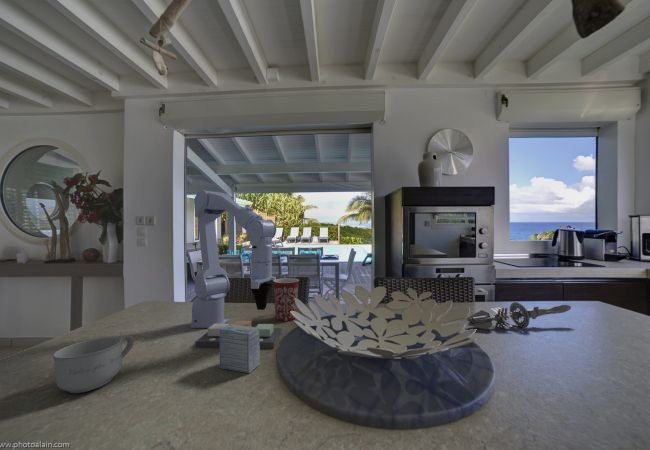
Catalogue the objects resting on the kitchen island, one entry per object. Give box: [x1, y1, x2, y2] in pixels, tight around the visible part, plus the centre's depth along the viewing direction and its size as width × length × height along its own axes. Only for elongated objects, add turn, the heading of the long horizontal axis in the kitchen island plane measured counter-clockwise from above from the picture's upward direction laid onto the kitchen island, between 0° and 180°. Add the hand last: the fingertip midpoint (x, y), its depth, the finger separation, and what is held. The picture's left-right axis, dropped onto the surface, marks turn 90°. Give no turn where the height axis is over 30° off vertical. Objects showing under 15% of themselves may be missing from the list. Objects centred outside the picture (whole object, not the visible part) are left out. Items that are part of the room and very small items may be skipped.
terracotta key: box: [231, 320, 252, 327], centre depth 81 cm, size 4×4×2 cm
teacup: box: [52, 334, 135, 394], centre depth 59 cm, size 14×11×8 cm
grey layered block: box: [219, 324, 261, 374], centre depth 65 cm, size 8×4×9 cm, turn 71°
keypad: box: [194, 327, 283, 349], centre depth 81 cm, size 21×11×2 cm, turn 88°
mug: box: [272, 277, 300, 322], centre depth 103 cm, size 13×9×14 cm
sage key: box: [255, 323, 275, 337], centre depth 81 cm, size 4×4×2 cm
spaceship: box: [466, 301, 572, 330], centre depth 91 cm, size 8×35×8 cm
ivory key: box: [207, 323, 230, 336], centre depth 81 cm, size 4×4×2 cm
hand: (261, 309), depth 82 cm, fingers closed
